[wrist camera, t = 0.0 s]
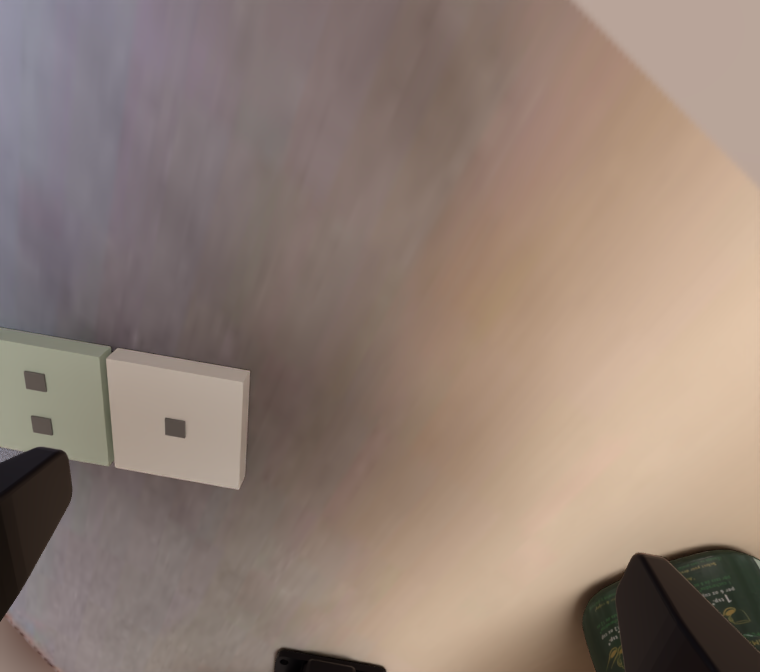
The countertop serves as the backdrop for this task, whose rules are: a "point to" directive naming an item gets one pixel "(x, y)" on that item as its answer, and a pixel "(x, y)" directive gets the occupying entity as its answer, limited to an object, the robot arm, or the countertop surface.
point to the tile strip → (124, 408)
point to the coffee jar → (709, 576)
